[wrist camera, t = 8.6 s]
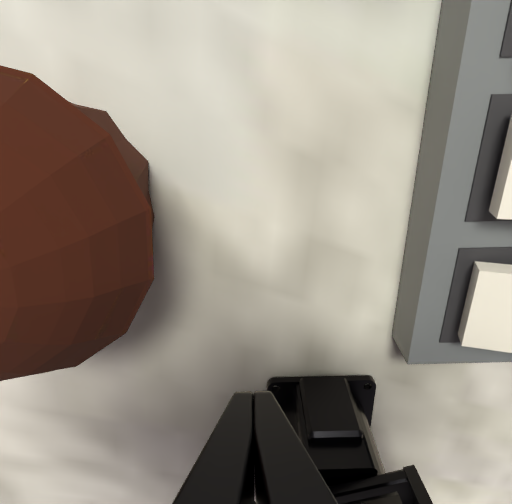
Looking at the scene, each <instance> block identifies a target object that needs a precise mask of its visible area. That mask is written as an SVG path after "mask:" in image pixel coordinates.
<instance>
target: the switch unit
mask: <svg viewBox="0 0 512 504" xmlns="http://www.w3.org/2000/svg"><path fill="white" fill-rule="evenodd" d="M511 114H512V0H442V6H441V13H440V19H439V26H438V33H437V39H436V46H435V53H434V59H433V66H432V73H431V79H430V86H429V93H428V99H427V106H426V112H425V119H424V126H423V132H422V139H421V146H420V152H419V159H418V166H417V172H416V179H415V186H414V192H413V199H412V205H411V212H410V219H409V225H408V232H407V239H406V245H405V252H404V259H403V265H402V272H401V279H400V285H399V292H398V298H397V305H396V312H395V318H394V325H393V332H392V336H393V338H394V340H395V342H396V344H397V346H398V348H399V349H400V351H401V353H402V355H403V357H404V359H405V361H406V362H407V364H440V363H483V362H512V353H508V352H501V351H494V350H487V349H480V348H473V347H466V346H461V343H460V339H459V336H458V330H459V326H460V322H461V318H462V313H463V309H464V305H465V300H466V296H467V292H468V287H469V283H470V279H471V275H472V270H473V266H474V262H475V261H478V262H488V263H499V264H510V265H512V220H510V219H496V218H495V217H494V216H493V215H492V214H491V213H490V212H489V208H490V204H491V199H492V195H493V191H494V187H495V182H496V178H497V174H498V170H499V165H500V161H501V157H502V153H503V148H504V144H505V140H506V136H507V131H508V127H509V123H510V119H511Z"/></svg>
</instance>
